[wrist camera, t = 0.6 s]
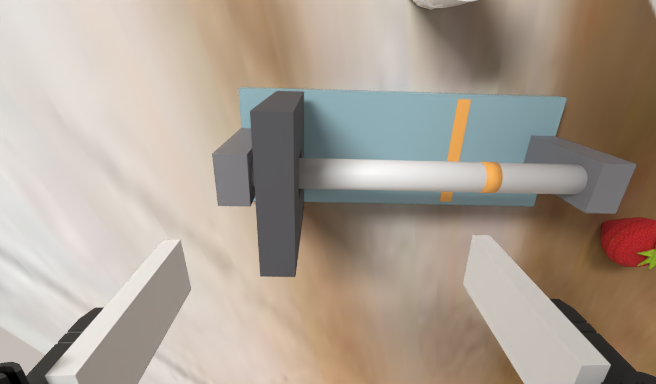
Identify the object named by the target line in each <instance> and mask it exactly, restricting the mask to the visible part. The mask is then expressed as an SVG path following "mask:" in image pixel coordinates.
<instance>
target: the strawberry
mask: <svg viewBox="0 0 656 384" xmlns="http://www.w3.org/2000/svg"><path fill="white" fill-rule="evenodd" d="M600 236H601V247H602V249H603V250H604V252H605V253H606V255H607V256H608V257H609V259H610V260H611V261H613V262H616V263H618V264H620V265H622V266H626V267H641V266H647V265H649V270H650V269H651V268H652V267H653V266H655V265H656V220H653V219H648V218H643V217H636V218H622V219H617V220H608V221H605V222H604V223H603V224H602V225H601V235H600Z"/></svg>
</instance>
